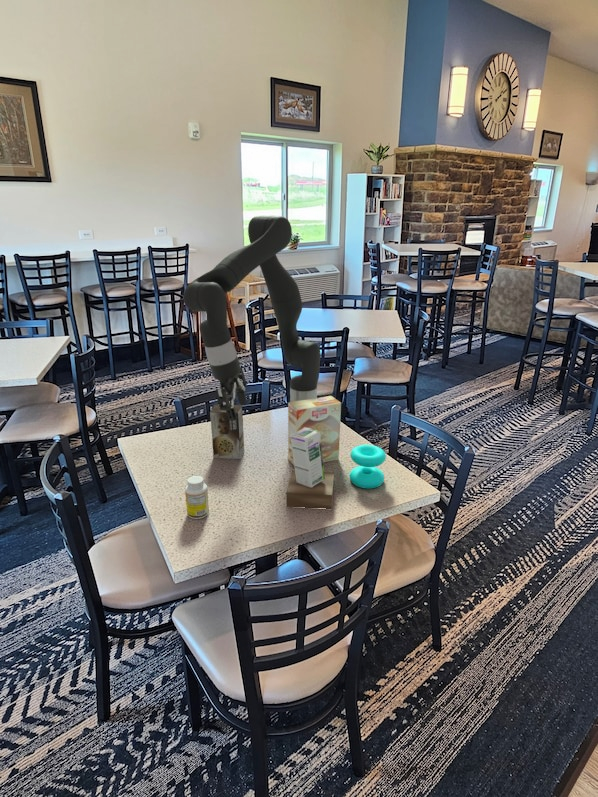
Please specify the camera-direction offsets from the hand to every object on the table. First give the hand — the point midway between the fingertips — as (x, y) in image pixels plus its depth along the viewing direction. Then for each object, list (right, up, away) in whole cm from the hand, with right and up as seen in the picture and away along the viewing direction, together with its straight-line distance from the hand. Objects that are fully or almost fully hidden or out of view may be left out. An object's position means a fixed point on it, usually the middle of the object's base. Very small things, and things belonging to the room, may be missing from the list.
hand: (238, 411), depth 136 cm
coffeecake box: (+21, -16, +21) cm, 34 cm away
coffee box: (-6, -15, +24) cm, 28 cm away
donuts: (+36, -21, +8) cm, 43 cm away
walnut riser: (+20, -24, +1) cm, 31 cm away
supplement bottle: (-10, -27, -7) cm, 29 cm away
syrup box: (+20, -19, -1) cm, 27 cm away
